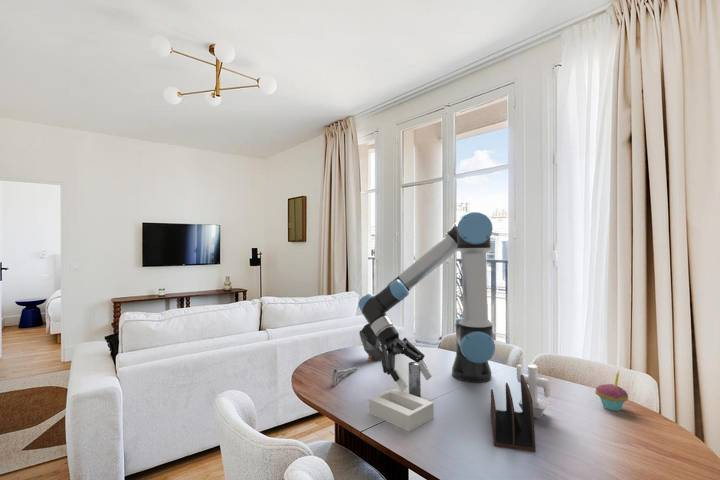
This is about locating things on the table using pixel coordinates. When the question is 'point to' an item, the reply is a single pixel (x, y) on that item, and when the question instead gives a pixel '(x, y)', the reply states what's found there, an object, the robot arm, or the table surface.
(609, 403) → the cupcake
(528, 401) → the letter holder
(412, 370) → the pin
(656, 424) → the table surface
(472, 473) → the table surface
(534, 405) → the figurine
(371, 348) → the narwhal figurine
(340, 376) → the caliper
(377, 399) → the block
